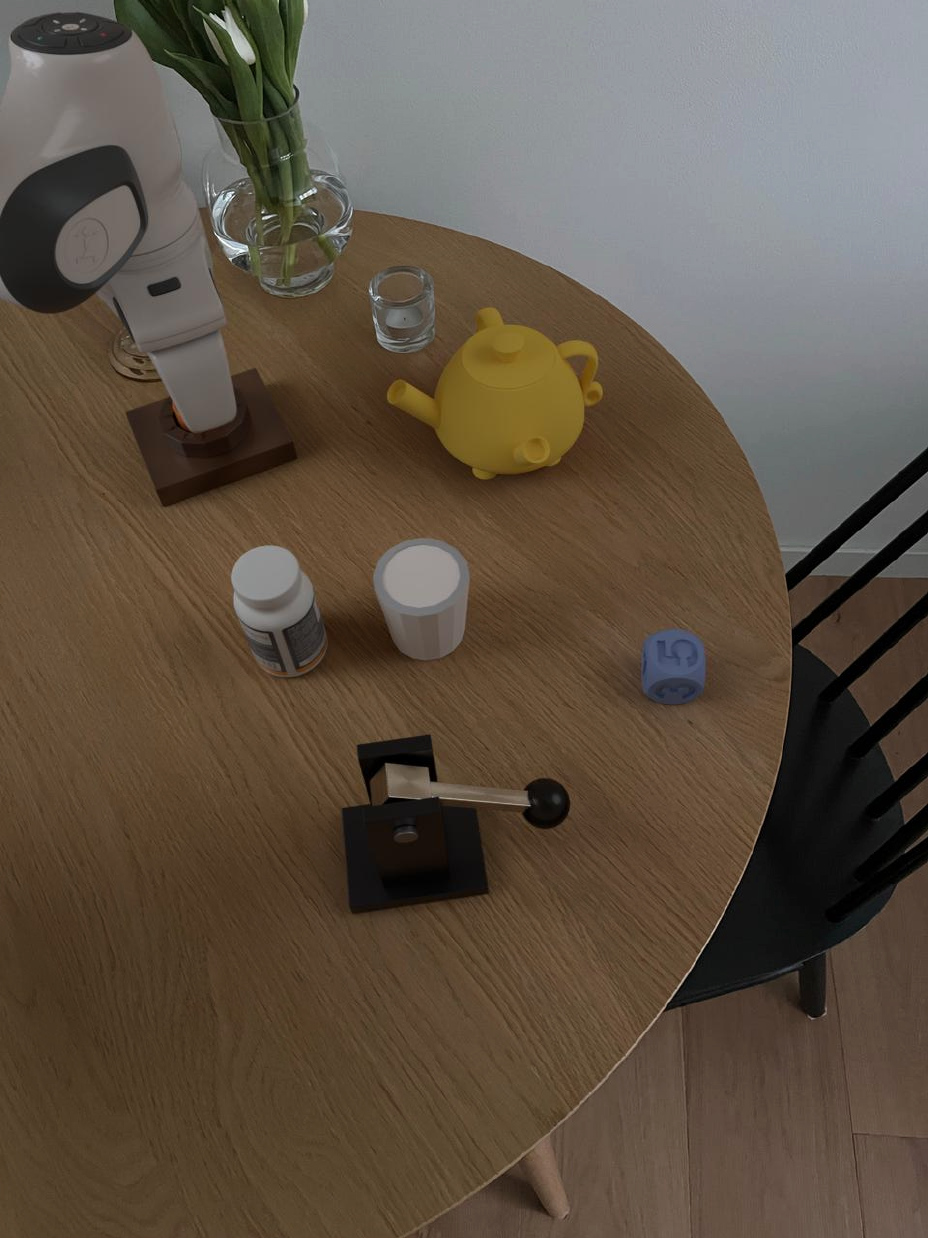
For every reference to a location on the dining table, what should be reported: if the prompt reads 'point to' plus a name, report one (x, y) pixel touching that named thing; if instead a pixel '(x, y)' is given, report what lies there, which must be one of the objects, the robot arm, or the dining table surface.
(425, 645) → the white faceted cylinder
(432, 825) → the black lever base
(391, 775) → the silver lever with knob
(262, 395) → the button block
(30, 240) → the robot arm
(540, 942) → the dining table surface
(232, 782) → the dining table surface
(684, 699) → the decorative dice
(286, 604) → the pill bottle
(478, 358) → the teapot
